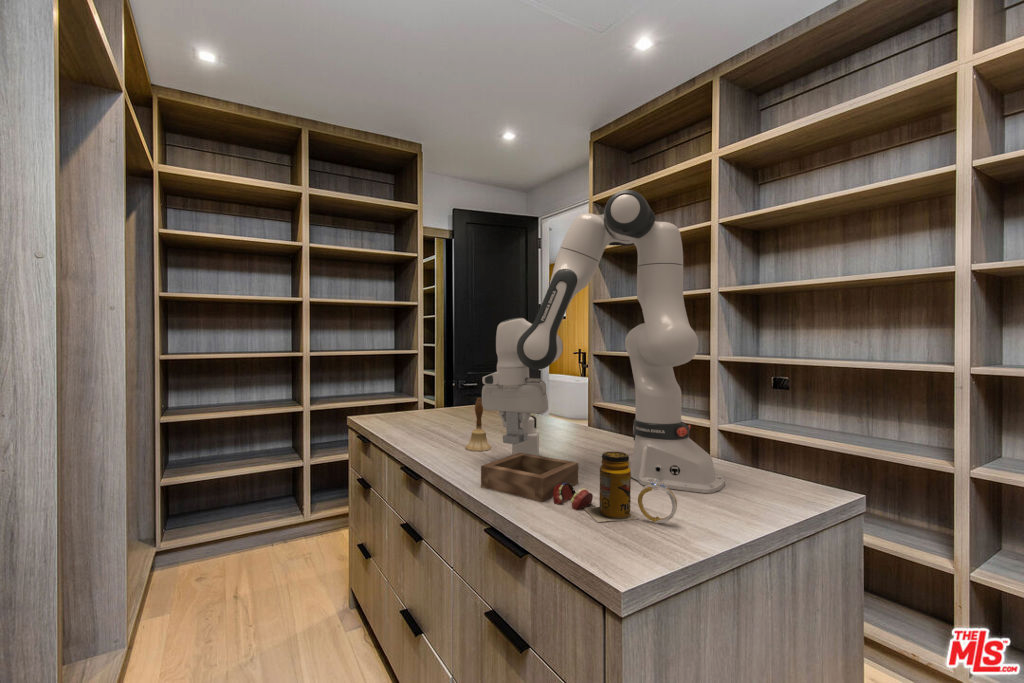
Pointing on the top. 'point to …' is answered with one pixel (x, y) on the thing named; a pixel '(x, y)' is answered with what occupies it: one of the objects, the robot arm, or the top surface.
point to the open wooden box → (528, 475)
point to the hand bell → (478, 432)
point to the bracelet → (657, 486)
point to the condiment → (614, 489)
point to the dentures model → (572, 495)
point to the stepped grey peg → (514, 429)
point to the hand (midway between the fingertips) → (515, 428)
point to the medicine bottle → (529, 440)
